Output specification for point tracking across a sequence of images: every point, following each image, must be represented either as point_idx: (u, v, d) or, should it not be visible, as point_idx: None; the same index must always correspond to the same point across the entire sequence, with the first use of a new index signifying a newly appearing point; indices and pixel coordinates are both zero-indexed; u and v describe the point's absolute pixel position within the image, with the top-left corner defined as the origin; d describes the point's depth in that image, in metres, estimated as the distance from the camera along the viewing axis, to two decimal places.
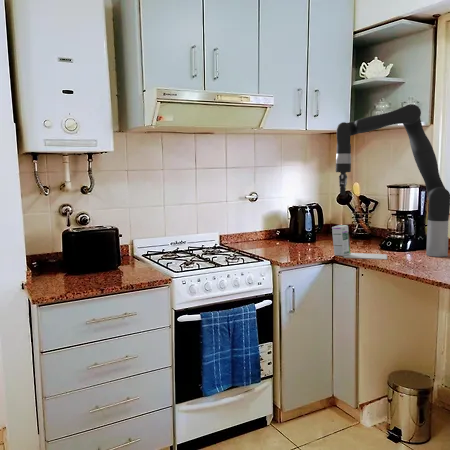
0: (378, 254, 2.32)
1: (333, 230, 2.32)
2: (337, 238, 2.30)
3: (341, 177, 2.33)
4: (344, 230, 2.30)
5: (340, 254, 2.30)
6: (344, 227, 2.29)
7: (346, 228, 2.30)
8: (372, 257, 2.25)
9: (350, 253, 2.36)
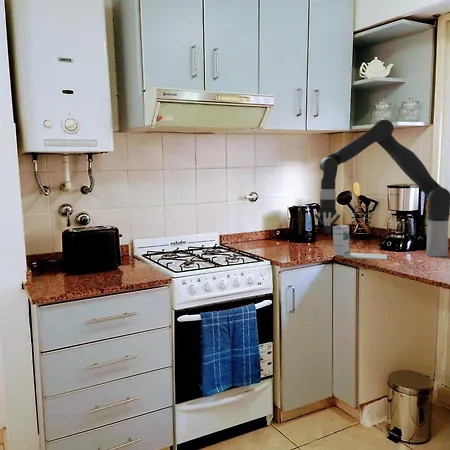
0: (378, 254, 2.32)
1: (334, 230, 2.32)
2: (337, 238, 2.30)
3: (338, 218, 2.31)
4: (345, 230, 2.30)
5: (340, 254, 2.30)
6: (345, 227, 2.29)
7: (347, 228, 2.30)
8: (372, 257, 2.25)
9: None
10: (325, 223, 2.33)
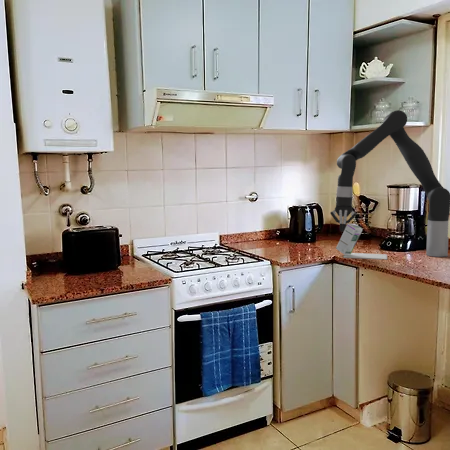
0: (378, 254, 2.32)
1: (347, 227, 2.28)
2: (347, 236, 2.28)
3: (354, 216, 2.28)
4: (357, 232, 2.27)
5: (341, 251, 2.30)
6: (358, 230, 2.26)
7: (360, 231, 2.27)
8: (372, 257, 2.25)
9: None
10: (340, 221, 2.29)
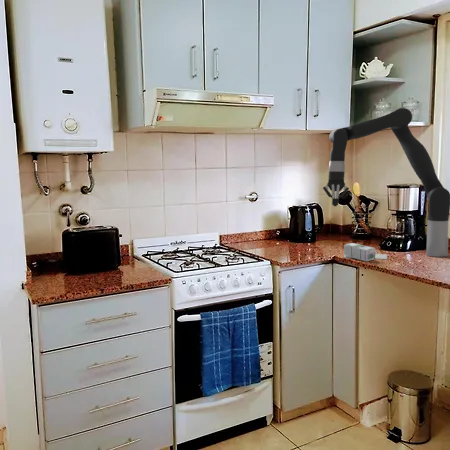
0: (378, 254, 2.32)
1: (363, 250, 2.17)
2: (357, 253, 2.21)
3: (347, 190, 2.28)
4: None
5: (345, 252, 2.28)
6: None
7: None
8: None
9: None
10: (333, 196, 2.30)
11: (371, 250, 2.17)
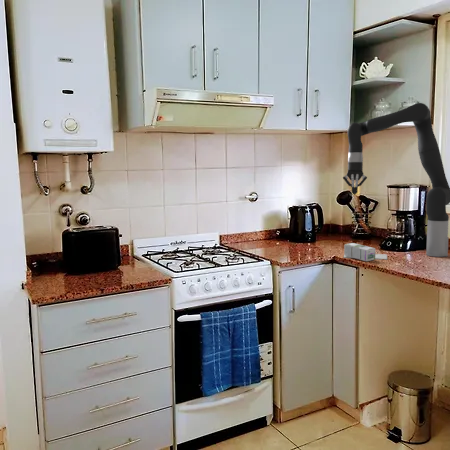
0: (378, 254, 2.32)
1: (363, 250, 2.17)
2: (357, 253, 2.21)
3: (365, 179, 2.48)
4: None
5: (345, 252, 2.28)
6: None
7: None
8: None
9: None
10: (353, 184, 2.49)
11: (371, 250, 2.17)
